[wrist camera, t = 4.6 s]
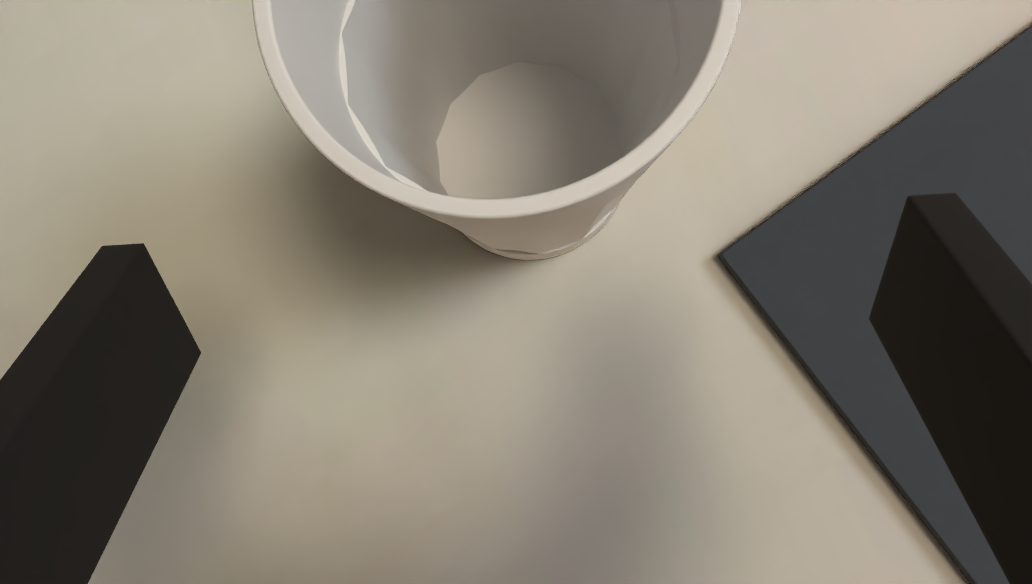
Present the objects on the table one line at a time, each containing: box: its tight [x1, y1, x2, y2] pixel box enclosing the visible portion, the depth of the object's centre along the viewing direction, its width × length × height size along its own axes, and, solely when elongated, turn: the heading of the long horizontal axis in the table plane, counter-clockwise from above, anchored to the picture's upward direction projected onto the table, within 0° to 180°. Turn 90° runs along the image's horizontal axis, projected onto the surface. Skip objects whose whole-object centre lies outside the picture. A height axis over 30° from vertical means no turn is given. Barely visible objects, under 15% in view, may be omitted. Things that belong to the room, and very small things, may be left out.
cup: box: [252, 0, 742, 260], centre depth 17 cm, size 8×8×12 cm
